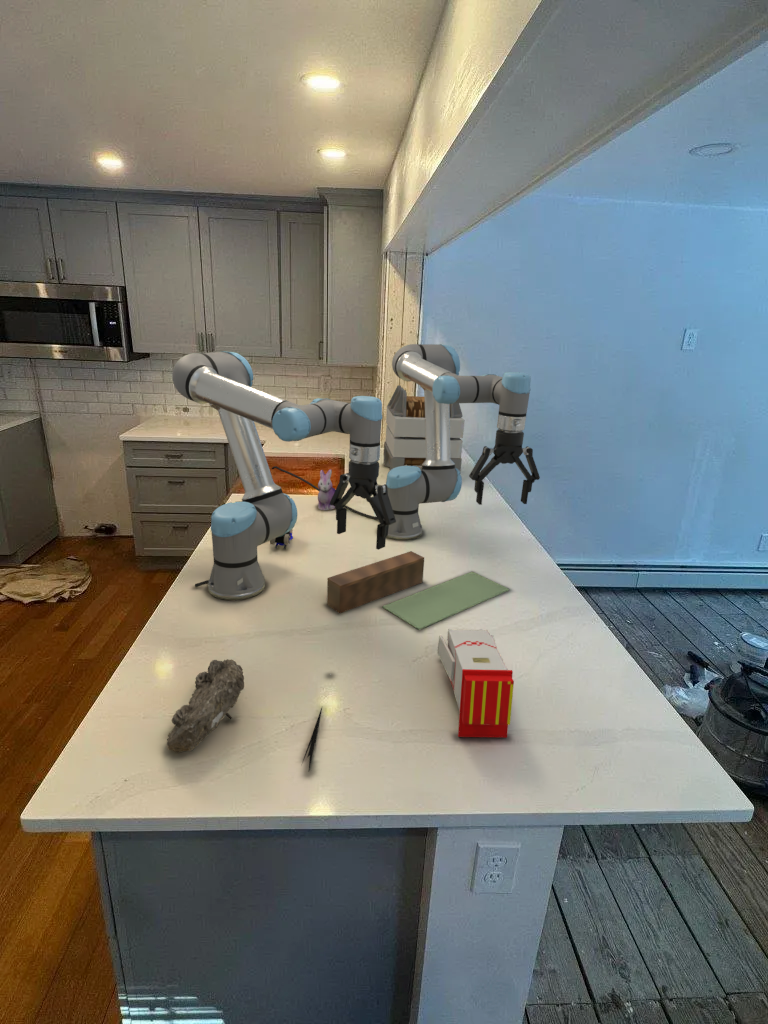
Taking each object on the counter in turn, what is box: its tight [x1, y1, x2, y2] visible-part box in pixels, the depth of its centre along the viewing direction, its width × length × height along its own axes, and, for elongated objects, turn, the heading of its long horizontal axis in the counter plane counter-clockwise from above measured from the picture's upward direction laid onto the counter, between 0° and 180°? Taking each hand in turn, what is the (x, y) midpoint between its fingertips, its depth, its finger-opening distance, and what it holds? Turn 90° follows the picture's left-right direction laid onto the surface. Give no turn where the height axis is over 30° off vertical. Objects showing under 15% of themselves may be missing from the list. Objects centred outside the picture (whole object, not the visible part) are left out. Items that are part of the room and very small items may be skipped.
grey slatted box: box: [383, 384, 465, 475], centre depth 268 cm, size 34×33×41 cm
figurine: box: [317, 468, 336, 511], centre depth 220 cm, size 9×10×15 cm
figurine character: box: [269, 529, 294, 550], centre depth 186 cm, size 7×8×15 cm
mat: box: [382, 571, 510, 631], centre depth 157 cm, size 14×36×1 cm, turn 131°
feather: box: [301, 673, 332, 771], centre depth 108 cm, size 2×28×2 cm
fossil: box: [166, 658, 245, 754], centre depth 106 cm, size 22×10×15 cm
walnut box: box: [326, 550, 425, 614], centre depth 156 cm, size 30×6×8 cm, turn 131°
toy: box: [437, 628, 515, 738], centre depth 117 cm, size 12×13×30 cm
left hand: (360, 540), depth 147 cm, fingers open, 13 cm apart
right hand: (501, 502), depth 164 cm, fingers open, 13 cm apart
